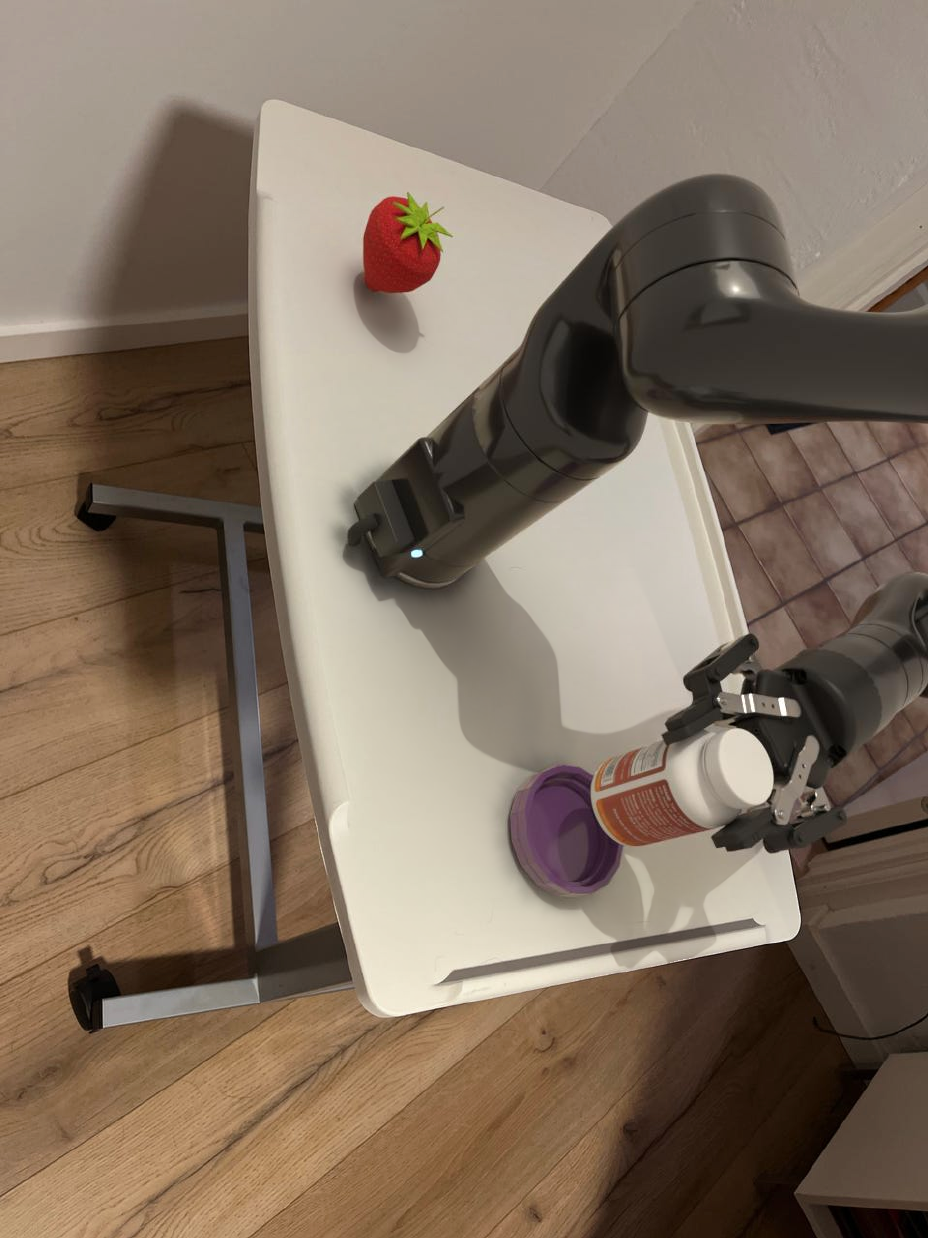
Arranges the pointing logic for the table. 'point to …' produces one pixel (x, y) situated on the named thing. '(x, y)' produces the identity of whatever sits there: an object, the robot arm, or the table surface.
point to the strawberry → (400, 246)
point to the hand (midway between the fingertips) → (699, 788)
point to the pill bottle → (680, 786)
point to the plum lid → (562, 833)
